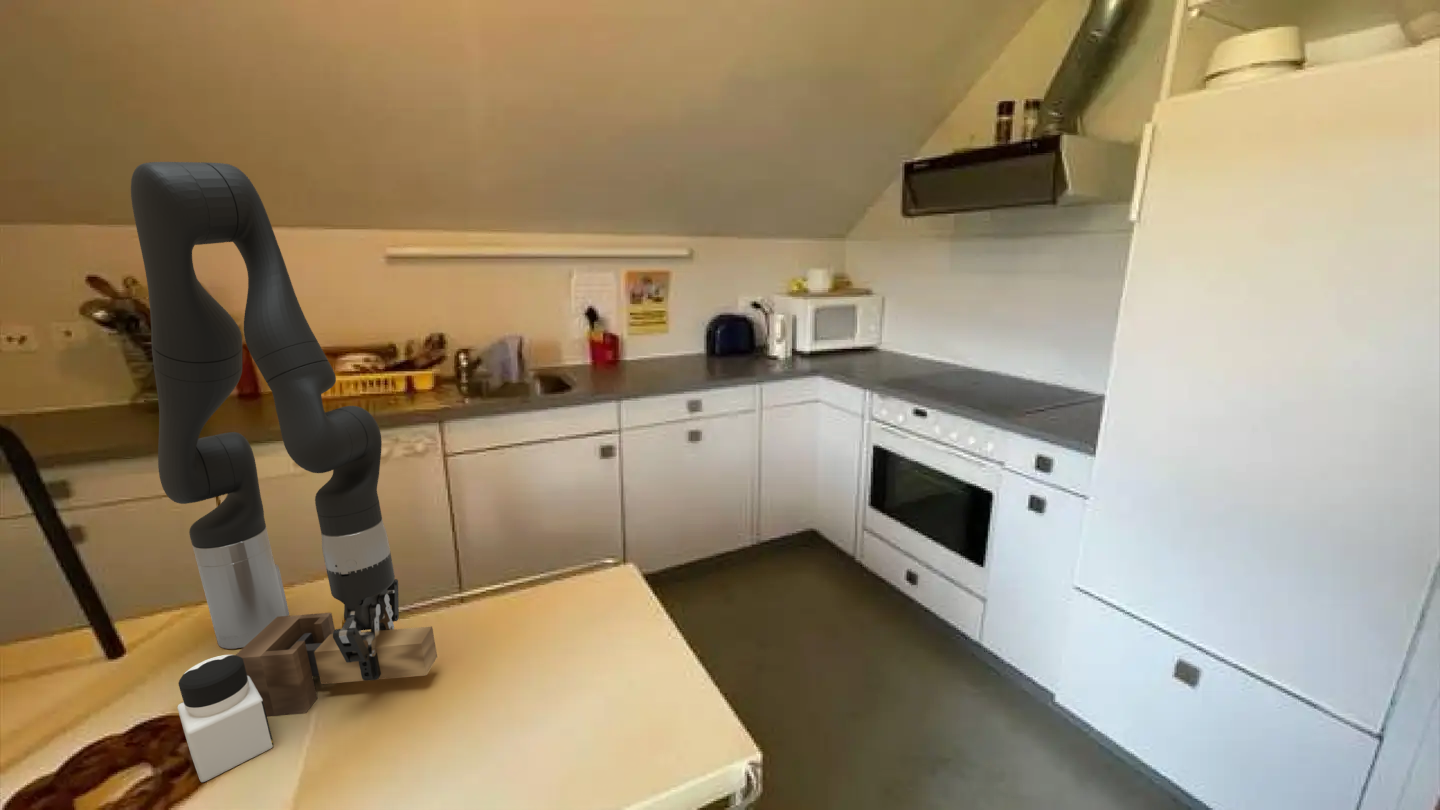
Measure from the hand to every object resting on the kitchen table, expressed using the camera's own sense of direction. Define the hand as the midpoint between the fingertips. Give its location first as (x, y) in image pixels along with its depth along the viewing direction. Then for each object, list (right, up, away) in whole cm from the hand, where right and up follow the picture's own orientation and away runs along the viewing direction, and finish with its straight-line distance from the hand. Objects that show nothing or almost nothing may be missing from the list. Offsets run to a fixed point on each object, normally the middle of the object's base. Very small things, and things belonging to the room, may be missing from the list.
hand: (379, 667), depth 86 cm
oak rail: (-2, -1, 0) cm, 2 cm away
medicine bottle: (-12, -6, -10) cm, 17 cm away
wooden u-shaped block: (-12, -3, 0) cm, 12 cm away
